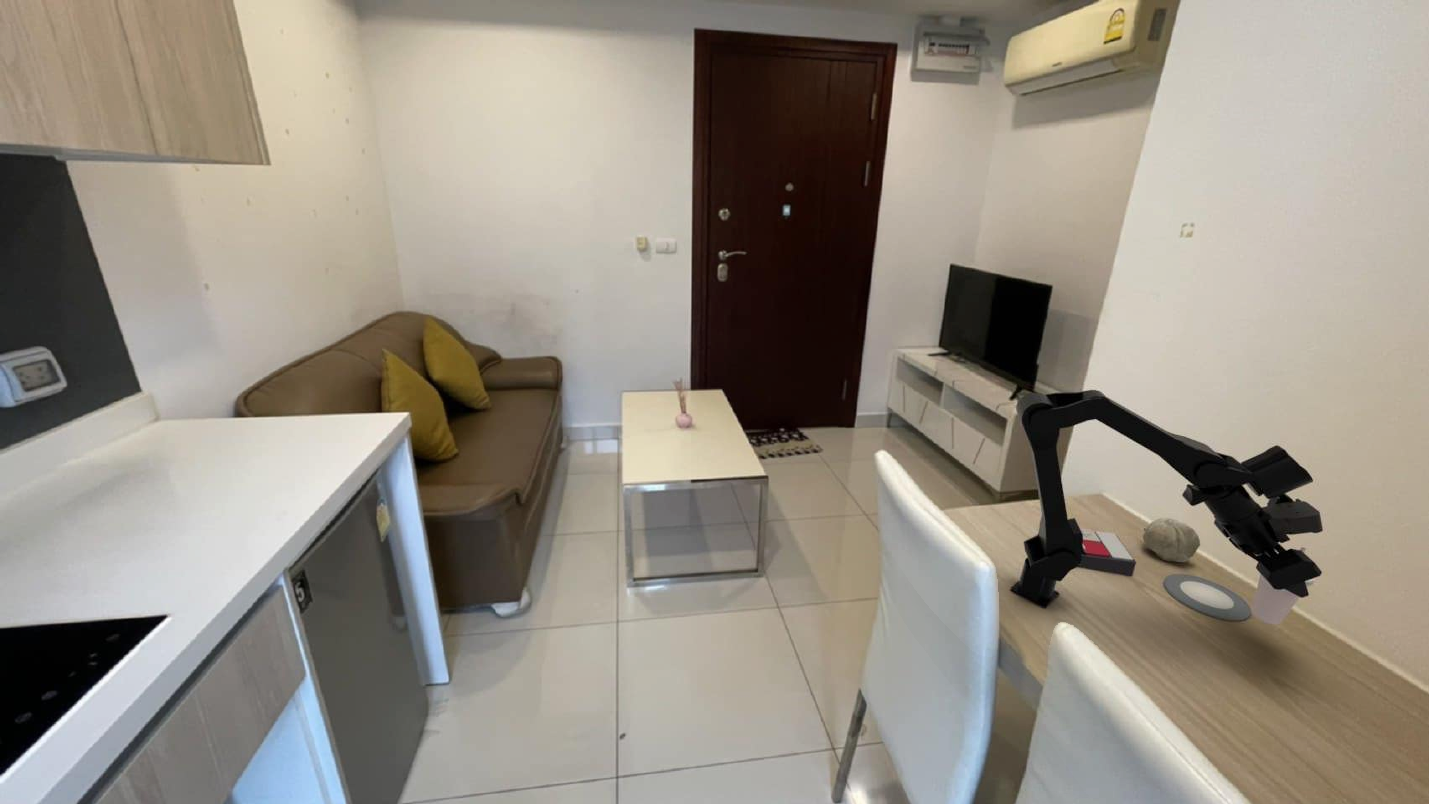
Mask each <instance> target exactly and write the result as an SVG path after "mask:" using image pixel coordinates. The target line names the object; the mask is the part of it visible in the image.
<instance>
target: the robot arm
mask: <svg viewBox="0 0 1429 804" xmlns="http://www.w3.org/2000/svg"><path fill="white" fill-rule="evenodd" d="M1015 406H1016V407H1015V408H1016V409H1015V411H1016V414H1017V416H1018V418H1019V421H1020V424H1021V426H1022V428H1023V431H1024V433H1025V436H1026V438H1027V441H1028V444H1029V446H1030V453H1031V457H1032V458H1031V459H1032V462H1033V469H1034V475H1035V476H1034V477H1035V482H1036V487H1037V491H1038V492H1037V493H1038V500H1039V504H1040V510H1041V517H1040V520H1039V527H1038V532H1039V535H1038V534H1037V535H1035V536H1033V537H1031V538H1028V539H1026V540H1024V541H1023V546H1024V551H1025V554H1026V558H1025V559H1024V562H1023V567H1022V570H1021V574H1020V577H1019V580H1018V581H1017V582H1016V583H1014V584H1013V585H1012V586H1011V587H1010V591H1011V592H1012V593H1015V594H1016V595H1018V596H1020V597H1022V598H1024V599H1026V600H1028V601H1030V602H1031V603H1034V604H1035V605H1037V606H1038V607H1041V608H1043V609H1046V608H1048V607H1049V606H1050V605H1051V604H1052V603H1053V602H1054V601H1055V600H1056V599H1057V598H1059V597H1060V592H1058V591H1056V590H1055V587H1056V585H1057V582H1062V581H1063V579H1065V578H1066V576H1067V575H1068V573H1070V572H1071V571H1072V570H1075V569H1076V568H1078V567H1077V566H1079V565H1081V563H1082V554H1083V555H1087V554H1086V552H1085V550H1084V548H1083V534H1082V532H1081V530H1080V529H1081V528H1080V526H1079V524H1078V522H1077V520H1076V518H1075V517H1073V518H1068V512H1067V506H1066V500H1065V494H1064V487H1063V482H1062V477H1061V469H1060V462H1059V456H1058V451H1057V448H1058V444H1059V438H1060V434H1061V433H1060V432H1061V429H1066V428H1072V427H1074V426H1077V425H1079V424H1082V423H1086V422H1089V421H1094V420H1096V421H1098V422H1100V423H1102V425H1105V426H1106V427H1109V428H1110V429H1112V430H1114V431H1115V432H1116V433H1118V434H1121V435H1122V436H1125V437H1126V438H1128V439H1129V440H1131V441H1133V442H1134V443H1136V444H1137V445H1139V446H1142V447H1143V448H1146V449H1147V450H1148V451H1150V452H1152V453H1154V454H1155V455H1157V456H1158V457H1159V458H1161V459H1162V460H1163V461H1164V462H1165V463H1167V464H1168V465H1169V466H1170V467H1171V469H1173V470H1174V471H1176V472H1177V473H1178V474H1179V475H1180V476H1182V477H1183V478H1184V479H1185V480H1187V482H1189V484H1186V488H1185V489H1184V491H1183V492H1182V495H1181V496H1182V497H1183V498H1184V500H1186V502H1187V503H1188V504H1189V505H1190V506H1192V507H1194V506H1198V505H1199V504H1203V503H1204V505H1205V506H1206V507H1207V508H1208V510H1209V511H1210V512H1211V513H1212V515H1213V518H1214V522H1213V524H1214V525H1215V527H1216V528H1217V529H1218V530H1219V532H1220V533H1221V534H1222V535H1223V536H1224V537H1225V538H1226V539H1228V541H1229V542H1230V543H1231V545H1233V546H1234V547H1235V548H1236V549H1237V550H1239V551H1241V552H1242V553H1243V554H1244V555H1246V556H1248V557H1250V558H1252V559H1253V560H1254V561H1256V562H1257V564H1256V566H1255V569H1256V570H1257V571H1258V573H1259V575H1260V574H1261V575H1262V576H1263V577H1264V579H1265V580H1266V581H1267V582H1268V583H1269V584H1270V585H1271V586H1272V587H1273V588H1274V589H1277V590H1282V589H1285V590H1287V591H1289V592H1291V593H1293V594H1295V595H1297V596H1299V597H1300V598H1306V597H1308V596H1309V595H1310V594H1309V590H1308V587H1307V586H1306V583H1305V581H1307V580H1310V579H1313V578H1315V579H1316V578H1318V577H1320V576H1321V575H1322V574H1323V571H1322V570H1321V568H1319V566H1318V564H1316V562H1315V561H1313V560H1312V559H1311V558H1310V557H1309V556H1308V555H1307V554H1306V552H1304V553H1303V552H1302V551H1301V550H1300V549H1294V548H1289V549H1285V548H1284V547H1283V546H1282V545H1281V544H1284V543H1286V542H1289V541H1291V539H1290V537H1289V536H1290V535H1291V536H1294V535H1301V534H1309V533H1312V534H1319V533H1321V532H1322V533H1323V531H1324V530H1323V528H1324V527H1323V522H1322V518H1321V512H1320V511H1319V510H1318V509H1316V508H1315V507H1314V506H1313V505H1312V504H1310V503H1309V502H1306V501H1304V500H1301V499H1300V498H1295V500H1294V499H1292V498H1291V497H1290V496H1289V495H1288V494H1287V493H1289V492H1293V491H1294V490H1296V489H1299V488H1302V487H1304V486H1306V485H1309V484H1311V483H1313V482H1314V479H1313V477H1312V475H1311V474H1310V473H1309V472H1308V470H1307V469H1306V468H1304V467H1303V466H1302V465H1300V464H1299V463H1298V462H1297V461H1296V460H1295V459H1294V458H1293V457H1292V456H1291V455H1290V454H1289V453H1288V452H1287V450H1285V448H1283V447H1282V446H1280V445H1274V446H1272V447H1269V448H1268V449H1266V450H1265V451H1263V452H1261V453H1259V454H1257V455H1254V456H1253V457H1251V458H1248V459H1246V460H1243V461H1241V462H1240V461H1239V460H1237V459H1236V457H1234V456H1232V455H1228V454H1225V453H1220V452H1217V451H1215V450H1213V448H1211V447H1210V446H1209V445H1208V444H1205V443H1204V442H1201V441H1198V440H1196V439H1192V438H1190V437H1187V436H1185V435H1180V434H1176V433H1174V432H1173V433H1172V432H1170V431H1167V430H1165V429H1164V428H1162V427H1160V426H1158V425H1157V424H1155V423H1153V422H1152V421H1150V420H1148V419H1146V418H1144V417H1143V416H1141V415H1140V414H1138V413H1136V412H1134V411H1132V410H1130V409H1129V408H1127V407H1126V406H1124V405H1122V404H1120V403H1118V402H1116V401H1115V400H1113V399H1111V398H1110V397H1108V396H1106V395H1105V394H1104V393H1103V392H1102V391H1100V390H1097V389H1089V390H1081V391H1070V392H1069V391H1067V392H1053V393H1045V394H1044V393H1042V392H1041V393H1040V392H1031V393H1026V394H1024V395H1023V396H1021V398H1020V399H1019V400H1018V401H1017V403H1016V405H1015ZM1245 485H1246V486H1247V487H1248V488H1249V490H1250V491H1252V493H1254V495H1255V496H1257V497H1261V496H1264V497H1265V499H1266V500H1268V501H1267V503H1266V504H1267V505H1266V506H1263V507H1262V506H1260V504H1259V503H1257V501H1255V499H1254V498H1253V497H1252V495H1250V493H1249V492H1248V490H1247V489H1246V488H1245V487H1244V486H1245ZM1288 535H1289V536H1288Z"/></svg>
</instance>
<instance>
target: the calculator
mask: <svg viewBox="0 0 1429 804" xmlns="http://www.w3.org/2000/svg"><path fill="white" fill-rule="evenodd" d="M1080 530H1081V532H1082V534H1083V548H1084V550H1085V552H1086V554H1087V555H1083V554H1082V563H1081V565H1079V566H1077V567H1076V568H1081V569H1086V570H1087V569H1089V570H1094V571H1103V572H1108V573H1110V574H1116V575H1121V576H1127V577H1133V574H1134V571H1135V567H1136V565H1137V561H1136V560H1135V558H1134V557H1133V556H1132V555H1131V553H1130V551H1129V550H1128V549H1127V547H1126V546H1125V545H1124V544H1123V542H1122V541H1121V539H1120V538H1119V537H1118V535H1117V534H1115V533H1113V532H1107V531H1097V530H1096V531H1094V530H1093V529H1087V528H1080ZM1037 532H1038V533H1037V535H1039V531H1037Z"/></svg>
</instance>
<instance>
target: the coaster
mask: <svg viewBox="0 0 1429 804" xmlns="http://www.w3.org/2000/svg"><path fill="white" fill-rule="evenodd" d="M1162 584H1163V588H1164V589H1165V591H1166V592H1167V593H1168V595H1170V596H1171V597H1172V598H1173V599H1175V600H1176V601H1177V602H1179V603H1181V604H1182V605H1184V606H1185V607H1188V608H1190V609H1191V610H1193V611H1195V612H1197V613H1200V614H1202V615H1206V616H1208V617H1211V618H1214V619H1218V620H1222V621H1227V622H1242V621H1246V620H1248V619H1249V618H1250V617H1251V615H1252V613H1251V610H1252V607H1250V604H1249V603H1248V602H1247V601H1246V600H1245V599H1244V598H1243V597H1242V596H1241V595H1238V593H1236V592H1235V591H1232V590H1231V589H1229V588H1227V587H1225V586H1223V585H1221V584H1219V583H1217V582H1216V581H1215V582H1214V581H1212V580H1210V579H1206V578H1203V577H1199V576H1196V575H1191V574H1186V573H1185V574H1183V573H1172V574H1169V575H1167V576H1166V577H1165V578H1164V580H1163V583H1162Z"/></svg>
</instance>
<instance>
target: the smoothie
mask: <svg viewBox="0 0 1429 804" xmlns="http://www.w3.org/2000/svg"><path fill="white" fill-rule="evenodd" d="M1299 550H1301V551H1302V552H1303V553H1306V550H1307V549H1306V548H1305V547H1301V548H1300V549H1299ZM1315 580H1316V578H1313V579H1310V580H1307V581H1305V583H1306V586H1307V588H1308V587H1312V586H1313V585H1314V582H1315ZM1300 598H1301V597H1299V596H1297V595H1295V594H1293V593H1291V592H1289V591H1287V590H1285V589H1282V590H1277V589H1274V588H1273V587H1272V586H1271V585H1270V584H1269V583H1268V582H1267V581H1266V580H1265V579H1264V577H1263V576H1262V575H1261V574H1260V573H1259V578H1258V583H1257V587H1256V591H1255V595H1254V598H1253V601H1252V602H1253V603H1252V607H1251V615H1252V616H1253V617H1255V618H1256V619H1258V620H1259V621H1261V622H1264V623H1266V624H1270V625H1275V626H1278V625H1280V624H1281V623H1282V622H1283V621H1284V619H1285V618H1286V616H1287V615H1288V614H1289V612H1290V611H1291V610H1292V609H1293V607H1294V606H1295V605H1296V603H1297V602H1298V601H1299V599H1300Z"/></svg>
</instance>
